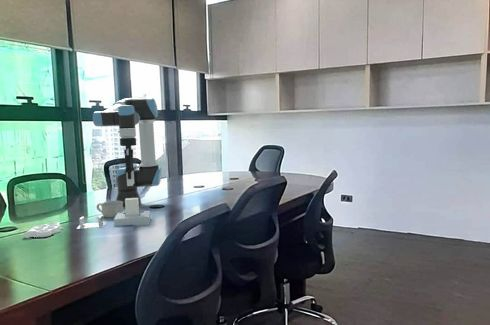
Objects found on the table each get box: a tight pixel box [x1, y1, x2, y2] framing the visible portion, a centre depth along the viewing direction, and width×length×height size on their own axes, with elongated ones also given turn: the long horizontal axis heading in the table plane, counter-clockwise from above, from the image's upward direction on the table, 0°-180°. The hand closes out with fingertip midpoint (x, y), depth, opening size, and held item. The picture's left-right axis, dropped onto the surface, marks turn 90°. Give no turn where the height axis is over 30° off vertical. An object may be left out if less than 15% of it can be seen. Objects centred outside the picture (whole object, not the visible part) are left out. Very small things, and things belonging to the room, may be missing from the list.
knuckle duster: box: [22, 222, 64, 239], centre depth 180 cm, size 3×18×15 cm
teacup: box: [96, 200, 124, 219], centre depth 209 cm, size 14×11×8 cm
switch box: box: [113, 210, 151, 227], centre depth 195 cm, size 14×16×4 cm
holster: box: [76, 214, 107, 230], centre depth 190 cm, size 10×12×5 cm
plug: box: [124, 198, 140, 216], centre depth 195 cm, size 4×6×12 cm, turn 101°
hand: (130, 184), depth 194 cm, fingers open, 6 cm apart
